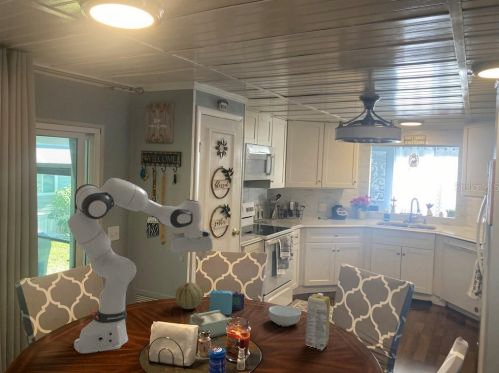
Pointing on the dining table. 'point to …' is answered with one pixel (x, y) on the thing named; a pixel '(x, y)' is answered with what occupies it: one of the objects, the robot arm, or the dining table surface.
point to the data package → (221, 301)
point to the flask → (237, 300)
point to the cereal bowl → (284, 315)
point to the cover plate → (207, 318)
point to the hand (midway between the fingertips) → (191, 260)
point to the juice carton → (317, 321)
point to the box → (212, 324)
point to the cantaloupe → (188, 295)
